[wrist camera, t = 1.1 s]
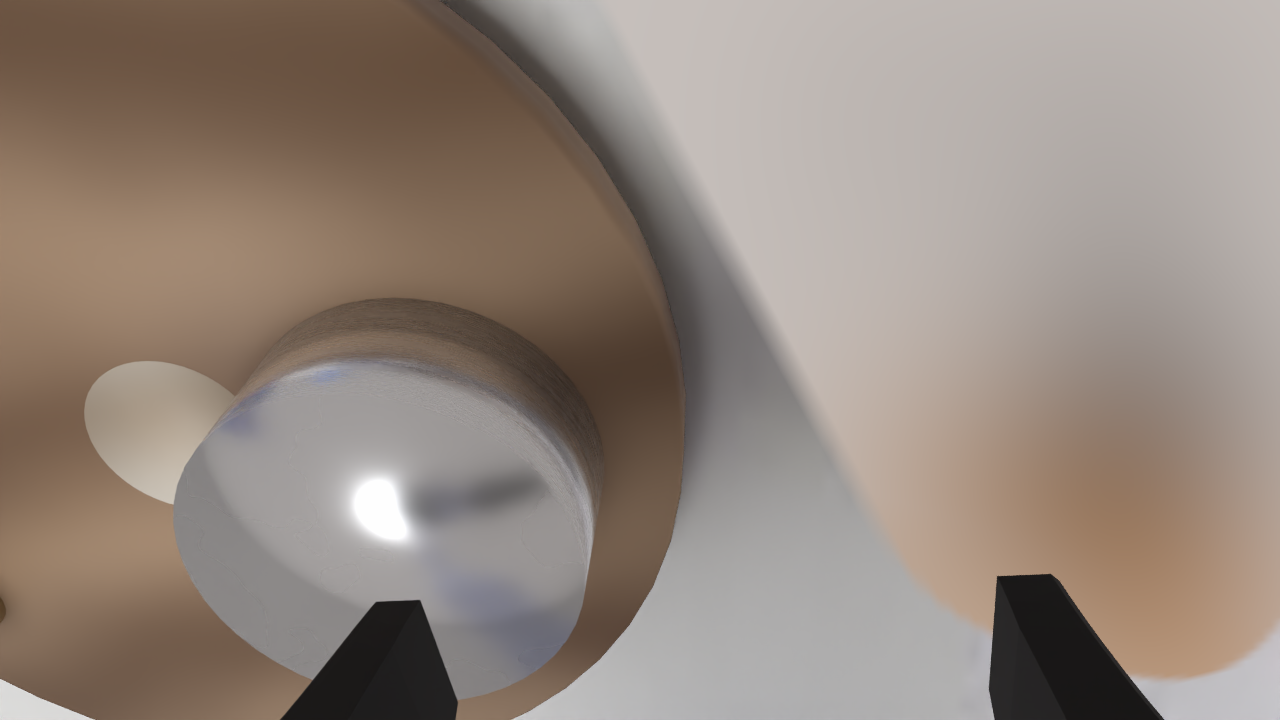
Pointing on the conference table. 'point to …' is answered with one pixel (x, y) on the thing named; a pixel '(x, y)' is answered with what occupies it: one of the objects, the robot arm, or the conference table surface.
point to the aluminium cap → (398, 491)
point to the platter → (278, 304)
